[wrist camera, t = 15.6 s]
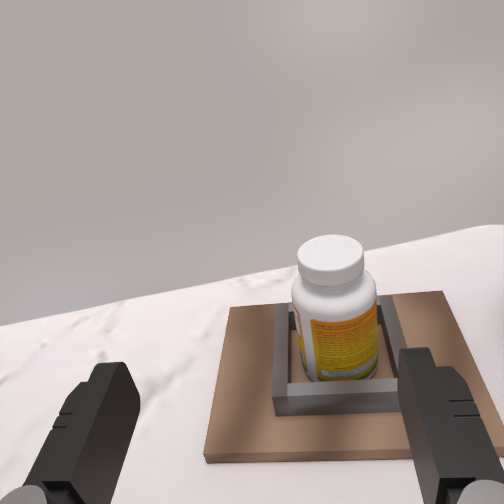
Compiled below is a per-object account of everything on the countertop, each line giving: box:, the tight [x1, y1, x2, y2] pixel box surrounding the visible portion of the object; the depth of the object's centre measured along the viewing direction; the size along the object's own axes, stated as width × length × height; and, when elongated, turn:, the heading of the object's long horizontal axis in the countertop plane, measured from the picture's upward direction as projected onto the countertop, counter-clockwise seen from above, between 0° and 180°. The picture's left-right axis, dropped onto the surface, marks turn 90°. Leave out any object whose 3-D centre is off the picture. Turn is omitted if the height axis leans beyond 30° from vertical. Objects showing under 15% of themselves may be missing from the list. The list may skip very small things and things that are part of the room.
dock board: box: [203, 291, 504, 463], centre depth 31 cm, size 18×14×3 cm
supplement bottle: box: [292, 235, 378, 382], centre depth 29 cm, size 5×5×10 cm
